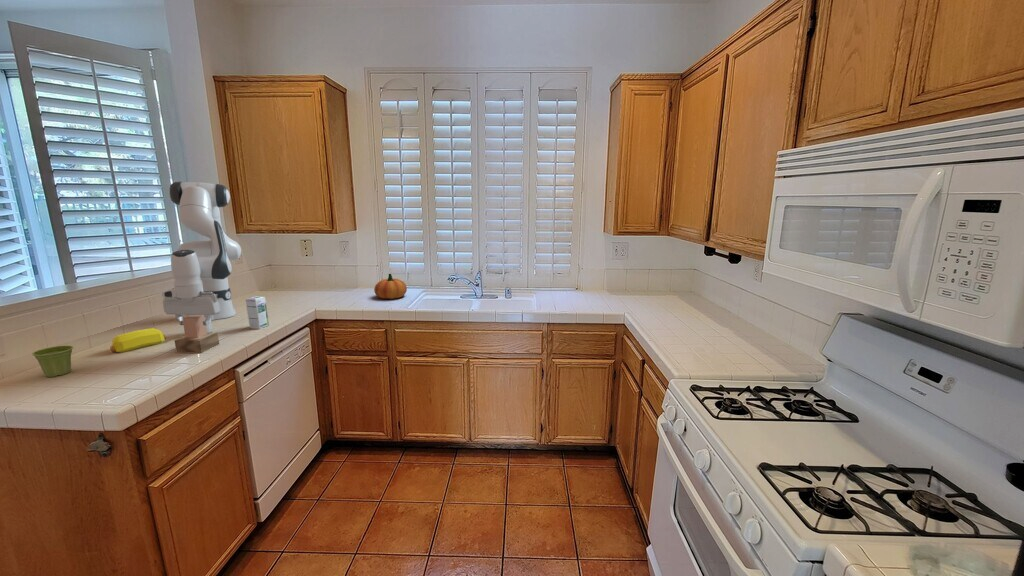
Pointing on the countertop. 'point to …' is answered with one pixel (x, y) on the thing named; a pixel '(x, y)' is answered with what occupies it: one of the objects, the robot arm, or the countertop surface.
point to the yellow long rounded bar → (137, 340)
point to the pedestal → (196, 343)
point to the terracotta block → (194, 326)
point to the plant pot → (54, 360)
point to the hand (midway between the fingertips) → (194, 324)
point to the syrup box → (257, 312)
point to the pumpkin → (390, 288)
